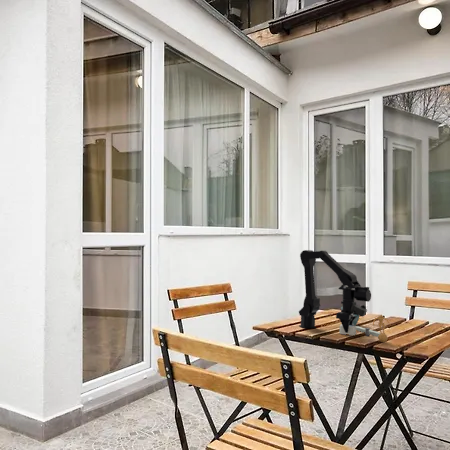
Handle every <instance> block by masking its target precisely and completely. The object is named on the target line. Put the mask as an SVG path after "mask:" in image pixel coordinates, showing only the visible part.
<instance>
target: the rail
mask: <svg viewBox="0 0 450 450" xmlns="http://www.w3.org/2000/svg"><path fill="white" fill-rule="evenodd" d="M352 325H353V326H354V324H352ZM356 330H357V331H356V332H360V331H361V332H360V333H363V332H365V333H364V334H365V336H366V337H369V336H370V335H371V336H374V337H377V338H378V336H379V334H380V331H376V330H372V329H371V328H370V327H361V326H359V325H356Z"/></svg>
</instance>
